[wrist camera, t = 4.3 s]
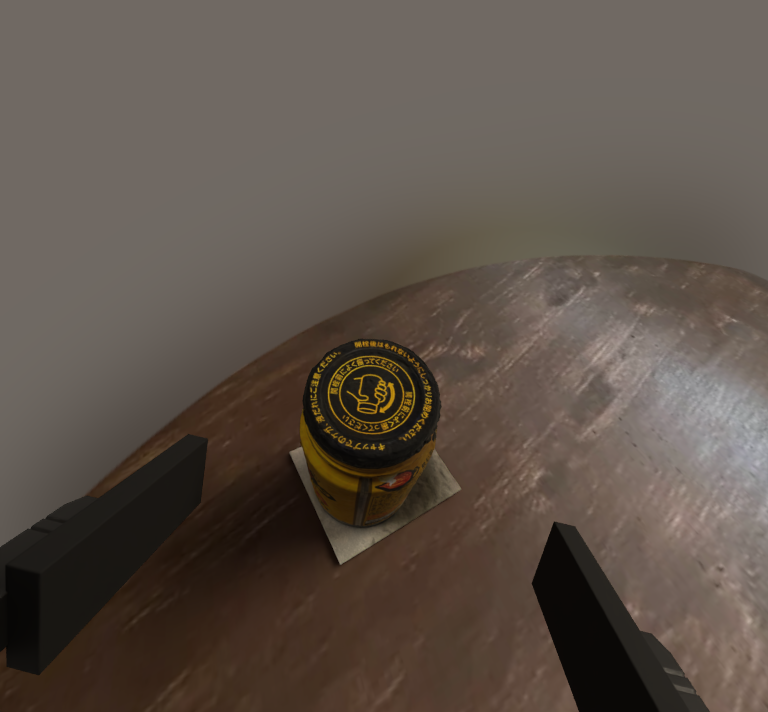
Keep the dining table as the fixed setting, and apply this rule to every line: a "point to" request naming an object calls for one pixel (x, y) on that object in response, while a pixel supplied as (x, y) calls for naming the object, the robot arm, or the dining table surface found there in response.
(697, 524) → the dining table surface
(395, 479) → the condiment
